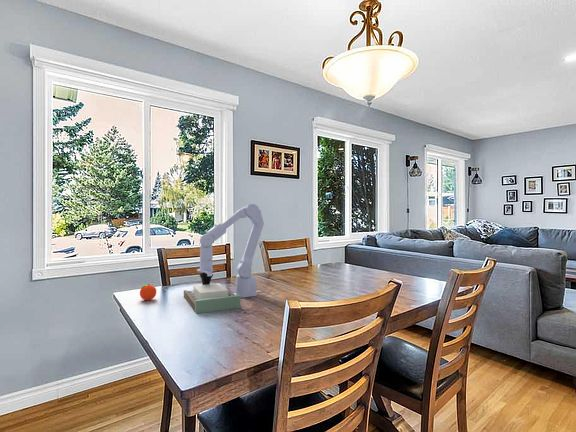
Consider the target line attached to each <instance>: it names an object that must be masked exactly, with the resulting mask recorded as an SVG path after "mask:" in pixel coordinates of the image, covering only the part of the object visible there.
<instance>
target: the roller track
mask: <svg viewBox="0 0 576 432" xmlns="http://www.w3.org/2000/svg"><path fill="white" fill-rule="evenodd" d="M232 295H234V294H232V293H231V292H230V291H229V290H228V296H232ZM183 298H184V299H185V301H186V302H187V303H188V305H189V307H191V309H192V310H193V311H194V313H195V300H197V299H199V298H198V297H197V296H196V295H195V293H194V292H193V290H186V289H184V290H183Z"/></svg>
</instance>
